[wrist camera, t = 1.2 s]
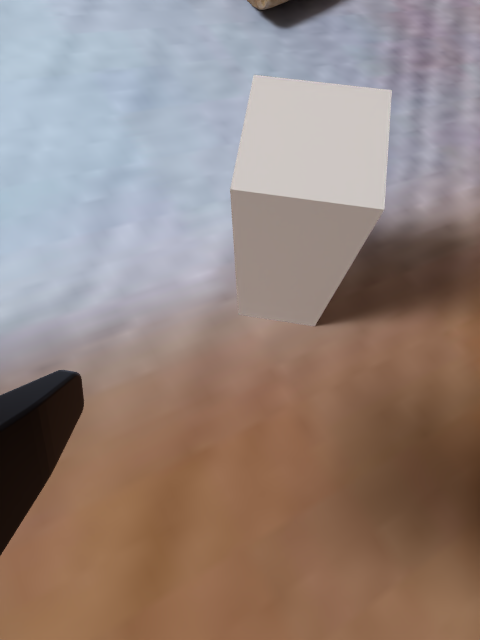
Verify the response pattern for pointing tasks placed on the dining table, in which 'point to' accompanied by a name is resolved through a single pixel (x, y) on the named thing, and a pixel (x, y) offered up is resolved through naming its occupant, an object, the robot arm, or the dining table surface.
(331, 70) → the dining table surface
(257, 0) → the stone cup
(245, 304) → the pillar
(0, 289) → the dining table surface
